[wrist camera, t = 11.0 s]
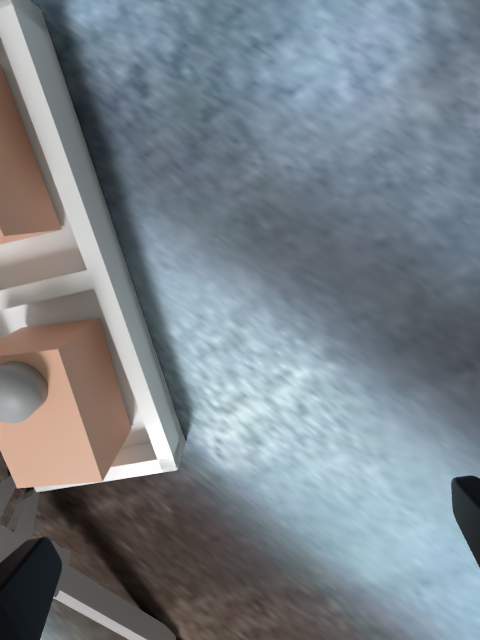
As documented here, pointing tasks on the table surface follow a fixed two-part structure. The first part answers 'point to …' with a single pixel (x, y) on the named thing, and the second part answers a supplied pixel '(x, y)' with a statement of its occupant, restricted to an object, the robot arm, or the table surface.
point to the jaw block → (20, 178)
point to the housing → (78, 250)
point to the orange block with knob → (59, 404)
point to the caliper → (77, 577)
